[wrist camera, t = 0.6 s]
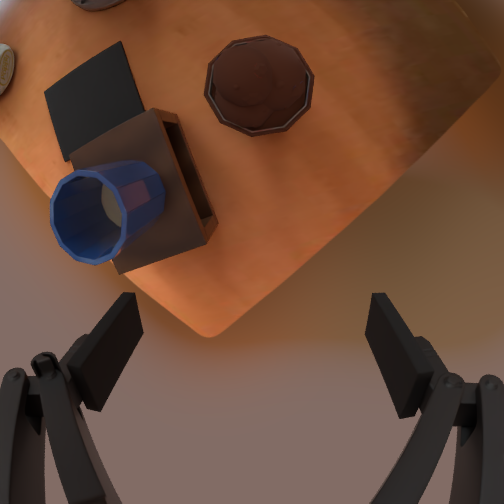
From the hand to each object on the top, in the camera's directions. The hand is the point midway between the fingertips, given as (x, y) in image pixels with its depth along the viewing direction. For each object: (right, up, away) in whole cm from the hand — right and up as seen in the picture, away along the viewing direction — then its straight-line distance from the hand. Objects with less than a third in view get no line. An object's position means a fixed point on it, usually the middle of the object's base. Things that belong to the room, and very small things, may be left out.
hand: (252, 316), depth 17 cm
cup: (-13, +10, +16) cm, 23 cm away
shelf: (-13, +13, +24) cm, 30 cm away
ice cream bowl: (+1, +23, +20) cm, 31 cm away
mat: (-23, +25, +20) cm, 40 cm away
